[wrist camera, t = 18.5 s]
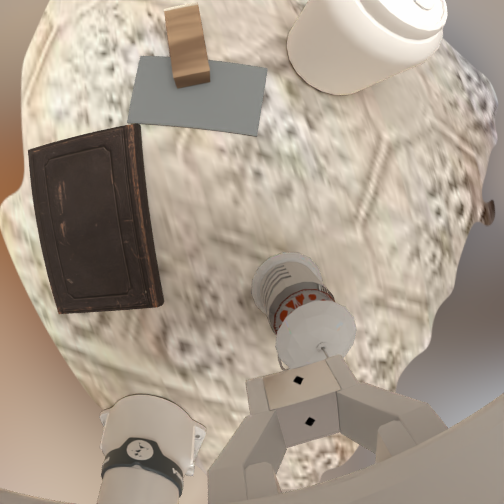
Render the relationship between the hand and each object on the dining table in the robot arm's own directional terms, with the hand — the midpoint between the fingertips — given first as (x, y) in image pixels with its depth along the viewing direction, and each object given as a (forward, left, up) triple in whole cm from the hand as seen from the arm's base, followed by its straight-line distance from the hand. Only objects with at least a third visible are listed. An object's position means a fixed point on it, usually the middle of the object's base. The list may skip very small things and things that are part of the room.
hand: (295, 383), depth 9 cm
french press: (-9, -8, -31) cm, 34 cm away
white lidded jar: (+24, -9, -31) cm, 40 cm away
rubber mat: (+15, +7, -31) cm, 35 cm away
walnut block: (+16, +7, -28) cm, 33 cm away
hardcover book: (-3, +18, -32) cm, 37 cm away
